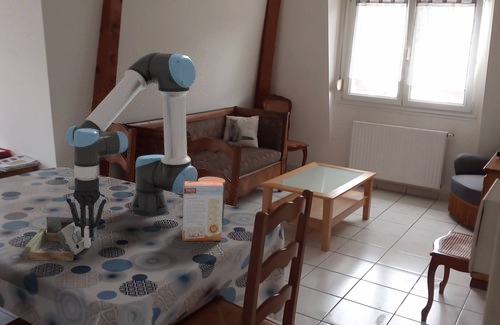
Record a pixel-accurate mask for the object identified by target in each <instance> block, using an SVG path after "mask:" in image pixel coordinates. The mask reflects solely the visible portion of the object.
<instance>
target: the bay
mask: <svg viewBox="0 0 500 325" xmlns="http://www.w3.org/2000/svg"><path fill="white" fill-rule="evenodd" d="M45 242H60V241H59V238H58V236H57V233H48V232H47V228H41V229H40V230H39V231H38V232H37V233H35V235H34V236H33V237H31V239H30V240H29V241H28V243H27V244H26V245H25V246H24V256H25V260H27V261H28V260H29V261H31V260H32V261H66V262H72V261H74V258H75V255H74V251H64V250H39V249H40V248H42V246H43V245H44V243H45Z"/></svg>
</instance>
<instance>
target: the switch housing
mask: <svg viewBox="0 0 500 325" xmlns="http://www.w3.org/2000/svg"><path fill="white" fill-rule="evenodd" d="M78 216H79V219H80V213H78ZM96 216H97V214H94V223H95V220H96ZM73 222H74V220H73V217H72V213H63V212H62V213H59V212H58V213H57V212H50V213H49V214H48V215H46V232H48V233H58V232H60V231H62V229H63V228H65V227H66V226H68V225H70V224H71V223H73ZM86 226H89V216H88V214H87V213H86ZM97 237H98V227H94V235H93V237H92V238H91V241H95V240H96V238H97Z"/></svg>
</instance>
